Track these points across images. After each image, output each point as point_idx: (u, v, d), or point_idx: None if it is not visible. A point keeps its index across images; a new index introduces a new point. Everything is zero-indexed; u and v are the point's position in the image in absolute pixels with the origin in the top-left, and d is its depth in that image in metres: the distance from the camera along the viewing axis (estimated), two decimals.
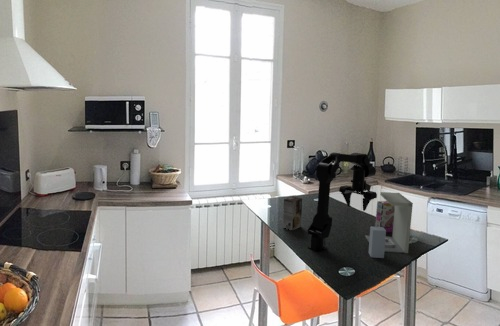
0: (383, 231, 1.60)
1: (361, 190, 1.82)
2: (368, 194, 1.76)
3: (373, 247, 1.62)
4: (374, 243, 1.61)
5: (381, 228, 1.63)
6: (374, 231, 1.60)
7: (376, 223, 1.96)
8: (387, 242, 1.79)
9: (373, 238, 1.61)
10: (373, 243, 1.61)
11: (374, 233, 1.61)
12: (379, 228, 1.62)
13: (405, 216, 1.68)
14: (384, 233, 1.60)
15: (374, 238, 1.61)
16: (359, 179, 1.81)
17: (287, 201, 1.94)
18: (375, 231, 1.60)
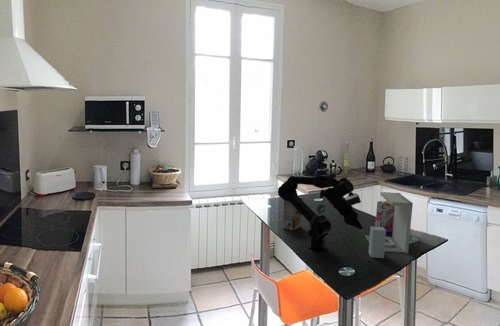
0: (383, 231, 1.60)
1: (344, 211, 1.60)
2: (343, 219, 1.55)
3: (373, 247, 1.62)
4: (374, 243, 1.61)
5: (381, 228, 1.63)
6: (374, 231, 1.60)
7: (376, 223, 1.96)
8: (387, 242, 1.79)
9: (373, 238, 1.61)
10: (373, 243, 1.61)
11: (374, 233, 1.61)
12: (379, 228, 1.62)
13: (405, 216, 1.68)
14: (384, 233, 1.60)
15: (374, 238, 1.61)
16: (333, 203, 1.61)
17: (287, 201, 1.94)
18: (375, 231, 1.60)
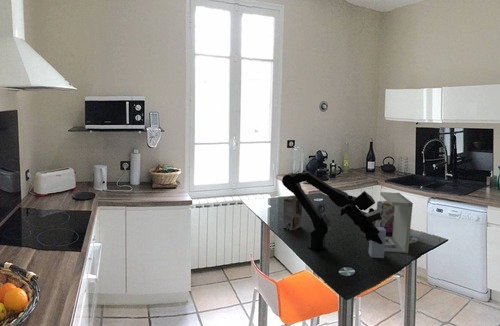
0: (383, 231, 1.60)
1: (365, 228, 1.60)
2: (365, 236, 1.56)
3: (373, 247, 1.62)
4: (374, 243, 1.61)
5: (381, 228, 1.63)
6: None
7: (376, 223, 1.96)
8: (387, 242, 1.79)
9: None
10: (373, 243, 1.61)
11: None
12: (379, 228, 1.62)
13: (405, 216, 1.68)
14: (384, 233, 1.60)
15: None
16: (353, 220, 1.61)
17: (287, 201, 1.94)
18: None
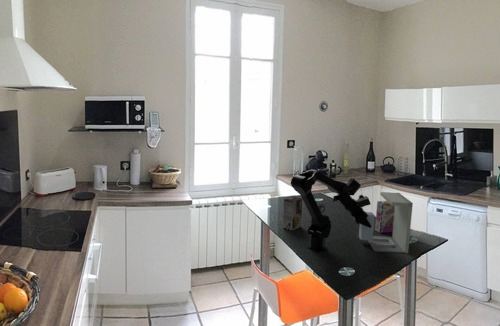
0: (372, 216, 1.74)
1: (355, 212, 1.75)
2: (355, 219, 1.70)
3: (363, 230, 1.76)
4: (364, 227, 1.76)
5: (370, 213, 1.77)
6: None
7: (376, 223, 1.96)
8: (387, 242, 1.79)
9: None
10: (363, 227, 1.76)
11: None
12: (368, 213, 1.77)
13: (405, 216, 1.68)
14: (373, 217, 1.75)
15: None
16: (345, 205, 1.75)
17: (287, 201, 1.94)
18: None
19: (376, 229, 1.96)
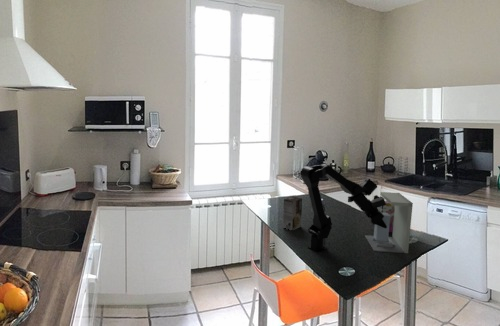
0: (387, 216, 1.74)
1: (370, 213, 1.74)
2: (370, 220, 1.69)
3: (378, 231, 1.75)
4: (379, 227, 1.75)
5: (385, 213, 1.77)
6: None
7: None
8: (387, 242, 1.79)
9: None
10: (378, 227, 1.75)
11: None
12: (384, 214, 1.76)
13: (405, 216, 1.68)
14: (388, 218, 1.74)
15: None
16: (360, 206, 1.75)
17: (287, 201, 1.94)
18: None
19: None
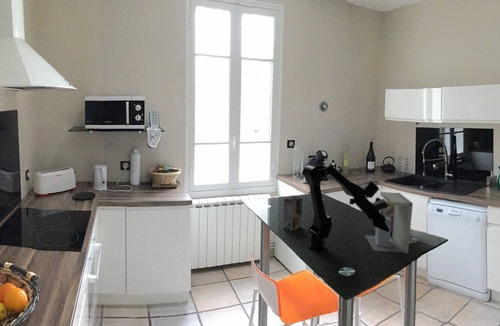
0: (389, 220, 1.74)
1: (372, 215, 1.74)
2: (372, 222, 1.69)
3: (379, 235, 1.75)
4: (380, 231, 1.75)
5: (387, 218, 1.77)
6: None
7: None
8: None
9: None
10: (380, 231, 1.75)
11: None
12: None
13: (405, 216, 1.68)
14: (390, 222, 1.74)
15: None
16: (362, 208, 1.75)
17: (287, 201, 1.94)
18: None
19: None
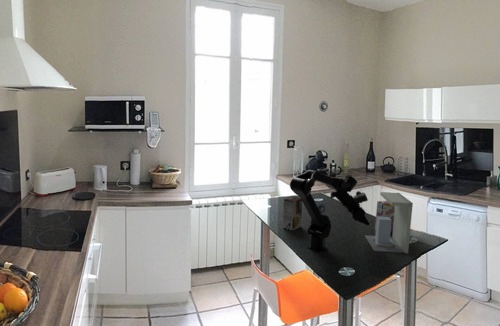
0: (389, 220, 1.74)
1: (352, 209, 1.75)
2: (352, 216, 1.70)
3: (379, 235, 1.75)
4: (380, 231, 1.75)
5: (387, 218, 1.77)
6: (380, 220, 1.74)
7: None
8: None
9: (380, 227, 1.75)
10: (380, 231, 1.75)
11: (380, 222, 1.74)
12: (385, 218, 1.76)
13: (405, 216, 1.68)
14: (390, 222, 1.74)
15: (380, 227, 1.75)
16: (342, 202, 1.75)
17: (287, 201, 1.94)
18: (381, 220, 1.74)
19: None
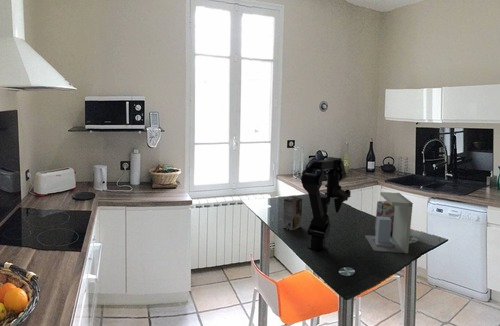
0: (389, 220, 1.74)
1: (327, 194, 1.78)
2: None
3: (379, 235, 1.75)
4: (380, 231, 1.75)
5: (387, 218, 1.77)
6: (380, 220, 1.74)
7: None
8: None
9: (380, 227, 1.75)
10: (380, 231, 1.75)
11: (380, 222, 1.74)
12: (385, 218, 1.76)
13: (405, 216, 1.68)
14: (390, 222, 1.74)
15: (380, 227, 1.75)
16: (327, 182, 1.79)
17: (287, 201, 1.94)
18: (381, 220, 1.74)
19: None
